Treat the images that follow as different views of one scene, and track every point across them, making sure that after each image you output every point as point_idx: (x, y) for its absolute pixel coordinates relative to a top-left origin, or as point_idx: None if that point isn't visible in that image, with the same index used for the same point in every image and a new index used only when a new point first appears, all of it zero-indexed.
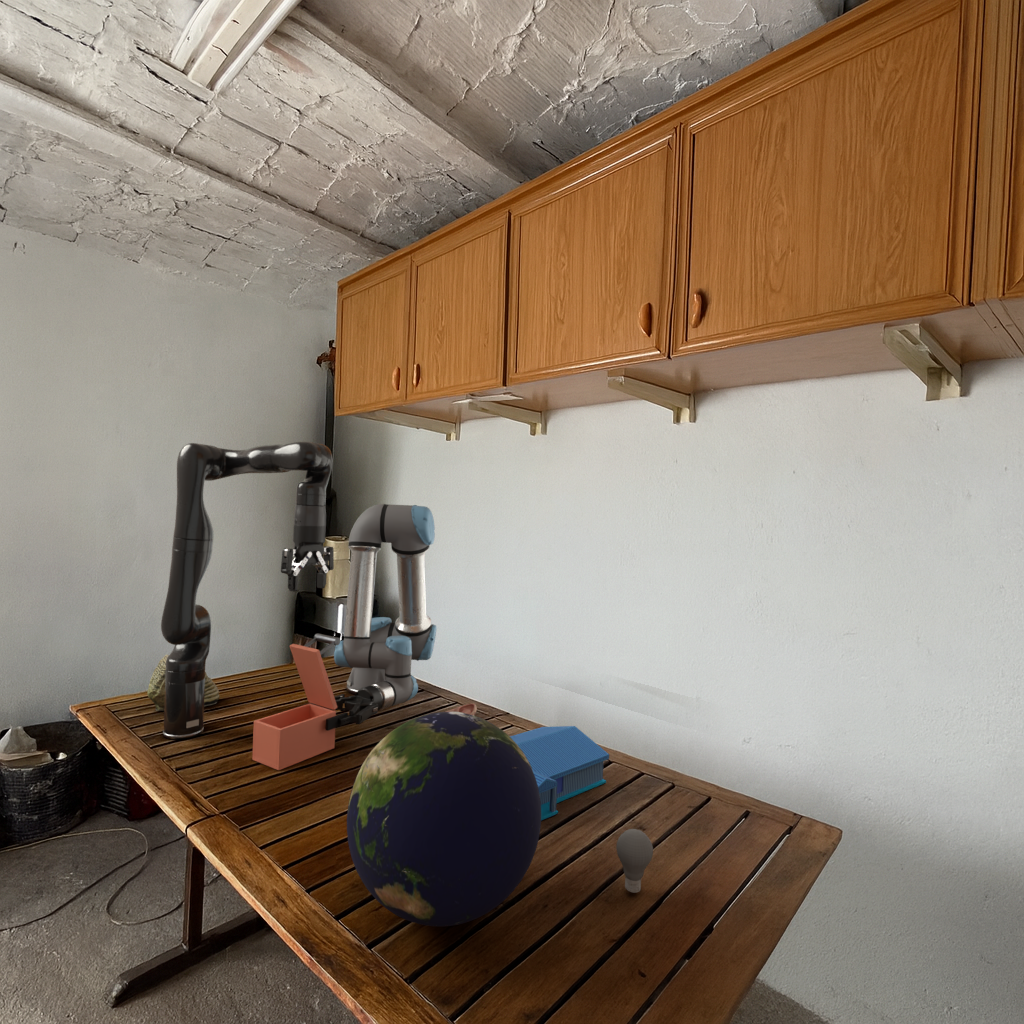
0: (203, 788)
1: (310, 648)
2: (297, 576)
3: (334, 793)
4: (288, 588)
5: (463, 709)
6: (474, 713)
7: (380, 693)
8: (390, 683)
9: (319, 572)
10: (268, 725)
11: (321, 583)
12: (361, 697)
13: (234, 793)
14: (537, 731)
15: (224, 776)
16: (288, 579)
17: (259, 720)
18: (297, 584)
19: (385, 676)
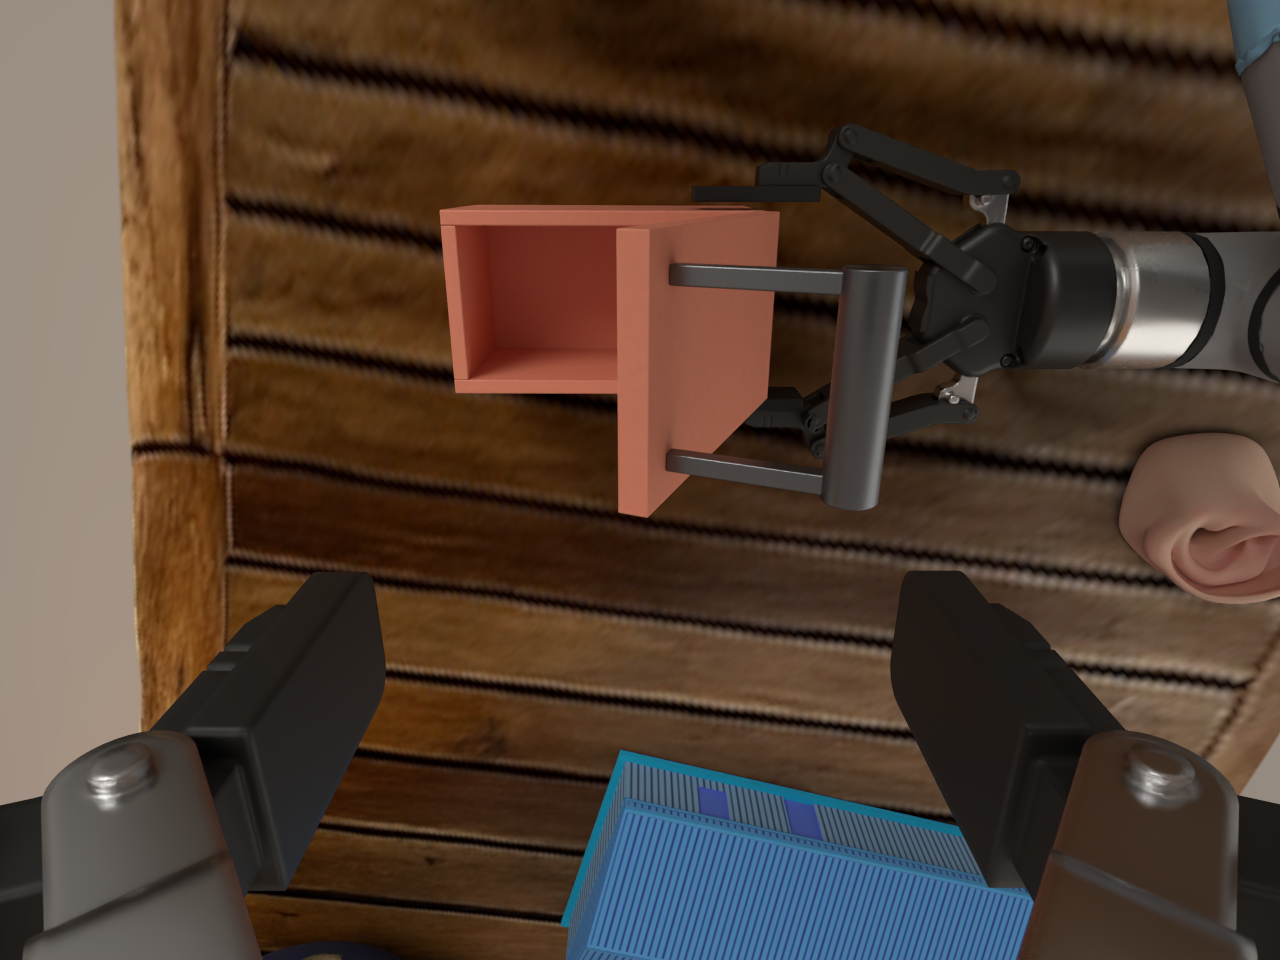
0: (248, 277)
1: (639, 442)
2: (279, 883)
3: (503, 595)
4: (273, 611)
5: (1269, 541)
6: (1234, 601)
7: (1079, 364)
8: (1205, 340)
9: (1038, 789)
10: (451, 313)
11: (920, 702)
12: (988, 327)
13: (305, 384)
14: (1009, 942)
15: (338, 250)
16: (174, 718)
17: (460, 225)
18: (349, 760)
19: (1273, 272)
